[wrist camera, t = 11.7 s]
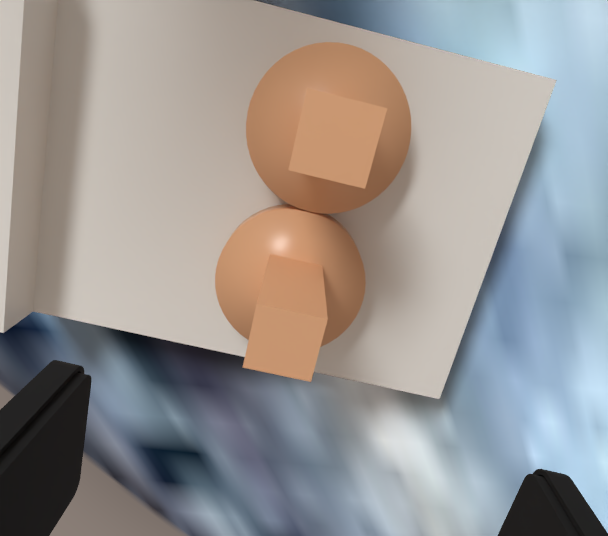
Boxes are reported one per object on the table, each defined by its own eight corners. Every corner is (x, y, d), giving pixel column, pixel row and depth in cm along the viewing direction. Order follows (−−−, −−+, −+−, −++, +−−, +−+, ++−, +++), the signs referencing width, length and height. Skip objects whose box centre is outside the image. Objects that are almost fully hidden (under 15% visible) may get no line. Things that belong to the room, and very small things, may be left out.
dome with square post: (372, 213, 25) (410, 272, 16) (339, 331, 27) (356, 446, 18) (241, 182, 25) (201, 224, 15) (217, 305, 27) (169, 409, 17)
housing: (531, 83, 24) (683, 63, 14) (428, 374, 28) (490, 508, 19) (66, -39, 22) (-117, -154, 13) (38, 289, 27) (-110, 387, 17)
